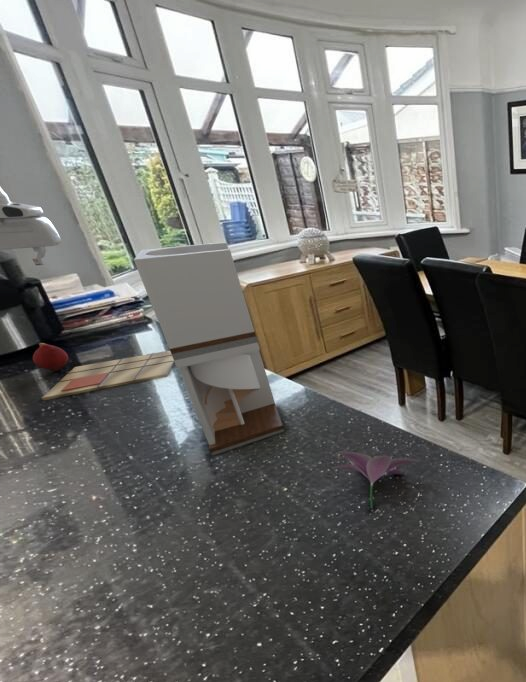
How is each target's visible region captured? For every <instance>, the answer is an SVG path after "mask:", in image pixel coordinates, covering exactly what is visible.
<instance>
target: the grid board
mask: <svg viewBox="0 0 526 682" xmlns="http://www.w3.org/2000/svg"><path fill="white" fill-rule="evenodd" d="M174 365H175V362H174V359H173V357H172V354H171V352H170V350H165V351H159V352H158V351H157V352H152V353H148V354H142V355H136V356H131V357H124V358H123V357H122V358H120V359H113V360H107V361H101V362H95V363H90V364H84V365H79V366H74V367H73V368H72V369H71V370H70V371H69V372H67V373H66V375H65V376H64V377H62V378H61V379H60V380H59V381H57V383H56V384H55V385H53V387H52V388H50V389H49V390H48V392H46V393H45V394H44V395H43V396H42V397H41V400H42V401H47V400H53V399H58V398H61V397H67V396H73V395H78V394H83V393H89V392H93V391H99V390H104V389H109V388H114V387H119V386H125V385H128V384H134V383H139V382H145V381H149V380H155V379H159V378H164V377H165V378H166V377H167V376H168V375H169V374H170V371H171V369H172V367H174Z"/></svg>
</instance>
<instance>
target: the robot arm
mask: <svg viewBox="0 0 526 682" xmlns="http://www.w3.org/2000/svg"><path fill="white" fill-rule="evenodd" d="M43 215H44V211H43V209H42V208H41V207H40V206H37V205H33V204H26V203H20V202H15V201H11V200H10V198H9V196H8V194H7V193H6V192H5V191H4V190H3V187H1V186H0V251H1V250H17V249H31V248H32V249H33V251H34V252H37V254H36V257H35V258H32V262H34V265H35V266H45V265H47V261H46V259H45V256H46V254H47V248H46V247H55V246H59V245H60V244H61V242H62V239H61V238H62V237H61V236H60V234H59V232H58V231H57V229H56V227H55V225H54V224H53V222H51V220H49V219H48V217H45V216H43Z"/></svg>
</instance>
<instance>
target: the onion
mask: <svg viewBox="0 0 526 682" xmlns="http://www.w3.org/2000/svg"><path fill="white" fill-rule="evenodd" d="M38 345H39V347H38V348H37V349H36V350H35V351H34V353H33V355H32V362H33V363H34V364H35V366H37V367H38V368H41V369H44V370H49V371H52V372H58V371H60V370H62V368H63V367H65V365H66V364H67V362H69V356H68V353H67V352H66V351H65V350H64V349H62V348H61V347H58V346H55V345H51V344H47V343H44V342H39V343H38Z"/></svg>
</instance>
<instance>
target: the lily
mask: <svg viewBox="0 0 526 682" xmlns="http://www.w3.org/2000/svg"><path fill="white" fill-rule="evenodd" d="M336 453H338V454H339V455H340V456H342V457H344V458H345V459H346V460H347V461H348V462H349V464H348V463H346V464H341V465H337V466H333V467H331V470H352V471H353V470H354V471H357V472H359V473H361V474H362V475H363V476H364V477H365V478H366V479H368V481H369V483H370V487H369V488H370V489H369V500H370V503H369V504H370V509H373V508H374V504H373V487H374V484H375V482H376V481H378V480H379V479H380V478H381V477H383V476H384V475H387V474H392V475H393V474H394V475H404V472H402V471H401V470H400V469H398V467H401V466H404V465H407V464H413V463H420V462H422V461H421V460H420V459H415V458H407V457H398V458H391V457H390V455H374V456H373V457H371V456H369V455H367V454H364V453H360V452H354V451H342V450H341V451H337V452H336Z"/></svg>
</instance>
